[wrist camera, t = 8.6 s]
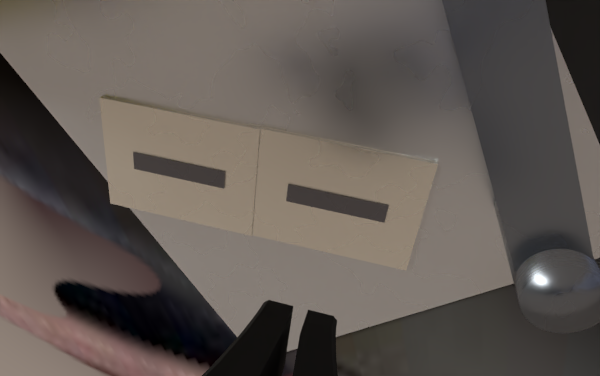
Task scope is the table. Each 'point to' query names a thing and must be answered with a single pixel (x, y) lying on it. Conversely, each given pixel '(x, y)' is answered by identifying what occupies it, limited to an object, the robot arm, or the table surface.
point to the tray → (287, 146)
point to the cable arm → (528, 157)
